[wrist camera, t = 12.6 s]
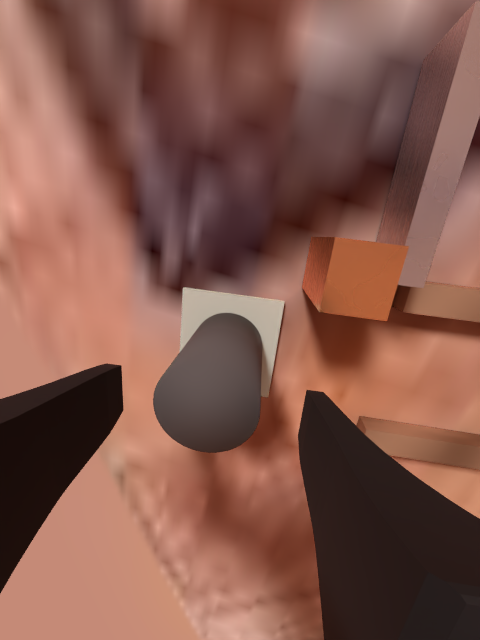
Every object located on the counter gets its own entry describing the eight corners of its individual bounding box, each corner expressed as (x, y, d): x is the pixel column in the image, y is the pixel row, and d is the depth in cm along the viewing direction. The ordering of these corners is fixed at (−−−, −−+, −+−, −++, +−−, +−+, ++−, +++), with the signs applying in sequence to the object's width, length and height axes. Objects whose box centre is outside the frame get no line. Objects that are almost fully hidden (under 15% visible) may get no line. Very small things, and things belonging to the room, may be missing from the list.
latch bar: (453, 62, 11) (588, -63, 7) (385, 298, 14) (444, 329, 10) (346, 53, 12) (402, -75, 7) (302, 287, 15) (319, 311, 10)
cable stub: (275, 334, 15) (281, 393, 10) (241, 388, 17) (227, 468, 11) (213, 299, 15) (180, 338, 9) (182, 356, 16) (137, 421, 11)
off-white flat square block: (284, 300, 15) (284, 302, 15) (268, 395, 17) (268, 397, 17) (184, 287, 15) (182, 288, 15) (179, 381, 17) (177, 383, 17)
